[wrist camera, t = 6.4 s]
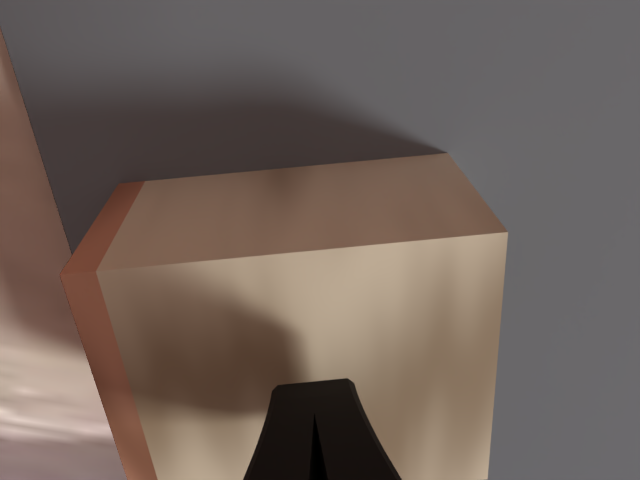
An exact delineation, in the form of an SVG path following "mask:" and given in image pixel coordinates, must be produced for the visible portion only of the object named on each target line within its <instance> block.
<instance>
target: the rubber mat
mask: <svg viewBox="0 0 640 480" xmlns="http://www.w3.org/2000/svg"><path fill="white" fill-rule="evenodd" d="M0 27H1V30H2V34H3V37H4V40H5V43H6V46H7V50H8V53H9V56H10V59H11V62H12V65H13V69H14V72H15V75H16V78H17V81H18V84H19V88H20V91H21V94H22V97H23V100H24V104H25V107H26V110H27V113H28V116H29V119H30V123H31V126H32V129H33V132H34V135H35V138H36V142H37V145H38V148H39V151H40V154H41V157H42V161H43V164H44V167H45V170H46V173H47V177H48V180H49V183H50V186H51V189H52V192H53V196H54V199H55V202H56V205H57V208H58V211H59V215H60V218H61V221H62V224H63V227H64V231H65V234H66V237H67V240H68V243H69V246H70V250H71V253H72V255H73V253H74V252H75V250H76V249H77V247H78V246H79V244H80V242H81V241H82V239H83V238H84V236H85V235H86V233H87V232H88V230H89V229H90V227H91V226H92V224H93V222H94V221H95V219H96V218H97V216H98V215H99V213H100V212H101V210H102V209H103V207H104V206H105V204H106V202H107V201H108V199H109V198H110V196H111V195H112V193H113V192H114V190H115V189H116V187H117V186H118V184H119V183H130V182H141V181H152V180H163V179H173V178H184V177H195V176H206V175H216V174H227V173H238V172H249V171H259V170H270V169H281V168H292V167H303V166H313V165H324V164H335V163H346V162H356V161H367V160H378V159H389V158H399V157H410V156H421V155H432V154H443V153H448V154H449V155H450V156H451V158H452V159H453V160H454V162H455V163H456V164H457V166H458V167H459V168H460V169H461V171H462V172H463V173H464V175H465V176H466V177H467V179H468V180H469V181H470V183H471V184H472V185H473V187H474V188H475V189H476V191H477V192H478V193H479V194H480V196H481V197H482V198H483V200H484V201H485V202H486V204H487V205H488V206H489V208H490V209H491V210H492V212H493V213H494V214H495V215H496V217H497V218H498V219H499V221H500V222H501V223H502V225H503V226H504V227H505V229H506V230H507V231H508V239H507V251H506V263H505V275H504V287H503V299H502V311H501V323H500V336H499V348H498V360H497V372H496V384H495V396H494V408H493V420H492V432H491V444H490V456H489V468H488V479H486V480H640V0H0Z"/></svg>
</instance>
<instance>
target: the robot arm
mask: <svg viewBox="0 0 640 480" xmlns="http://www.w3.org/2000/svg"><path fill="white" fill-rule="evenodd" d="M243 480H402V479H401V477H400V476H399V474H398V472H397V470H396V469H395V467H394V465H393V464H392V462H391V460H390V459H389V457H388V455H387V454H386V452H385V450H384V448H383V447H382V445H381V443H380V441H379V439H378V437H377V436H376V434H375V432H374V430H373V428H372V426H371V424H370V422H369V420H368V417H367V415H366V413H365V411H364V409H363V406H362V404H361V402H360V399H359V396H358V394H357V391H356V388H355V384H354V382H352V381H351V380H350V379H348V378H343V379H333V380H323V381H313V382H303V383H293V384H283V385H277V386H276V387H275V388H274V389H273V390H272V393H271V399H270V403H269V407H268V411H267V415H266V418H265V422H264V425H263V428H262V431H261V434H260V437H259V440H258V442H257V445H256V448H255V451H254V453H253V456H252V458H251V461H250V463H249V466H248V468H247V471H246V473H245V476H244V478H243Z"/></svg>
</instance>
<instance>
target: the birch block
mask: <svg viewBox="0 0 640 480" xmlns="http://www.w3.org/2000/svg"><path fill="white" fill-rule="evenodd" d="M507 239H508V231H507V230H506V229H505V227H504V226H503V225H502V223H501V222H500V221H499V219H498V218H497V217H496V215H495V214H494V213H493V212H492V210H491V209H490V208H489V206H488V205H487V204H486V202H485V201H484V200H483V198H482V197H481V196H480V194H479V193H478V192H477V191H476V189H475V188H474V187H473V185H472V184H471V183H470V181H469V180H468V179H467V177H466V176H465V175H464V173H463V172H462V171H461V169H460V168H459V167H458V166H457V164H456V163H455V162H454V160H453V159H452V158H451V156H450V155H449V154H448V153H443V154H432V155H421V156H410V157H399V158H389V159H378V160H367V161H356V162H346V163H335V164H324V165H313V166H303V167H292V168H281V169H270V170H259V171H249V172H238V173H227V174H216V175H206V176H195V177H184V178H173V179H163V180H152V181H141V182H130V183H119V184H118V186H117V187H116V189H115V190H114V192H113V193H112V195H111V196H110V198H109V199H108V201H107V202H106V204H105V206H104V207H103V209H102V210H101V212H100V213H99V215H98V216H97V218H96V219H95V221H94V222H93V224H92V226H91V227H90V229H89V230H88V232H87V233H86V235H85V236H84V238H83V239H82V241H81V242H80V244H79V246H78V247H77V249H76V250H75V252H74V253H73V255H72V256H71V258H70V259H69V261H68V262H67V264H66V266H65V267H64V269H63V270H62V272H61V273H60V278H61V281H62V284H63V287H64V290H65V293H66V296H67V299H68V302H69V305H70V308H71V311H72V314H73V317H74V320H75V323H76V326H77V329H78V332H79V335H80V338H81V341H82V344H83V347H84V350H85V353H86V356H87V359H88V362H89V365H90V368H91V371H92V374H93V377H94V380H95V383H96V386H97V389H98V392H99V395H100V398H101V401H102V404H103V407H104V410H105V413H106V416H107V419H108V422H109V425H110V428H111V431H112V435H113V438H114V441H115V444H116V447H117V450H118V453H119V456H120V459H121V462H122V465H123V468H124V471H125V474H126V477H127V480H243V478H244V476H245V473H246V471H247V468H248V466H249V463H250V461H251V458H252V456H253V453H254V451H255V448H256V445H257V442H258V440H259V437H260V434H261V431H262V428H263V425H264V422H265V418H266V415H267V411H268V407H269V403H270V399H271V393H272V390H273V389H274V388H275V387H276V386H277V385H283V384H293V383H303V382H313V381H323V380H333V379H343V378H348V379H350V380H351V381H352V382H354V384H355V388H356V391H357V394H358V396H359V399H360V402H361V404H362V406H363V409H364V411H365V413H366V415H367V417H368V420H369V422H370V424H371V426H372V428H373V430H374V432H375V434H376V436H377V437H378V439H379V441H380V443H381V445H382V447H383V448H384V450H385V452H386V454H387V455H388V457H389V459H390V460H391V462H392V464H393V465H394V467H395V469H396V470H397V472H398V474H399V476H400V477H401V479H402V480H486V479H488V468H489V456H490V444H491V432H492V420H493V408H494V396H495V384H496V372H497V360H498V348H499V336H500V323H501V311H502V299H503V287H504V275H505V263H506V251H507Z"/></svg>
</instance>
